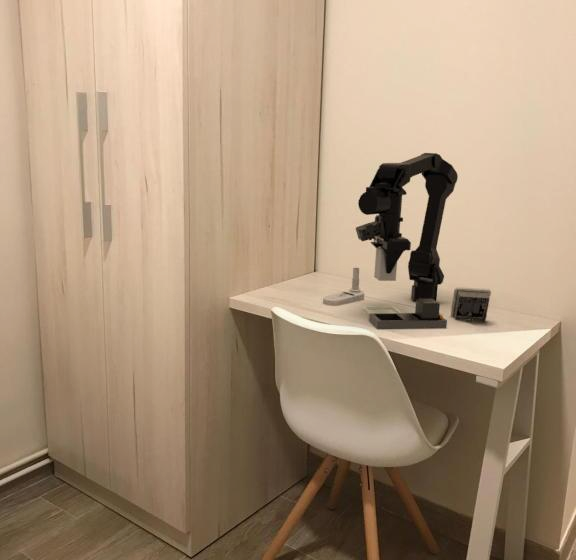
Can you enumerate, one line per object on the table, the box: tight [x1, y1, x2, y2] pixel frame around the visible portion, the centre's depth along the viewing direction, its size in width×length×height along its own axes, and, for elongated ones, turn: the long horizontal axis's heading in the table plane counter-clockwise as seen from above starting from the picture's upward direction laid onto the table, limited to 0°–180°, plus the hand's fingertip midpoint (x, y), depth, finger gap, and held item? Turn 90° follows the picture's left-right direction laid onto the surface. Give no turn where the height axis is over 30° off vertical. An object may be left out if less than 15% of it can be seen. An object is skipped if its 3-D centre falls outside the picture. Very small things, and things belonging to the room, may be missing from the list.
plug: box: [373, 247, 398, 282], centre depth 164 cm, size 4×4×8 cm
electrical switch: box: [450, 286, 492, 324], centre depth 163 cm, size 9×5×9 cm, turn 84°
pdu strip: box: [368, 299, 448, 330], centre depth 157 cm, size 18×7×7 cm, turn 99°
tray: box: [361, 305, 403, 316], centre depth 167 cm, size 9×8×1 cm
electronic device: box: [322, 267, 365, 307], centre depth 178 cm, size 5×10×15 cm
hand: (385, 271), depth 165 cm, fingers closed on plug, 4 cm apart
